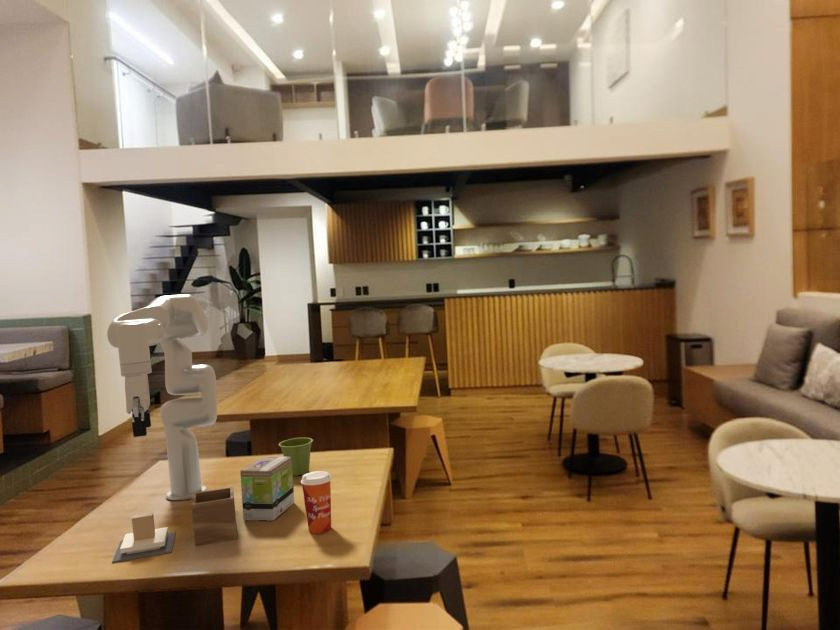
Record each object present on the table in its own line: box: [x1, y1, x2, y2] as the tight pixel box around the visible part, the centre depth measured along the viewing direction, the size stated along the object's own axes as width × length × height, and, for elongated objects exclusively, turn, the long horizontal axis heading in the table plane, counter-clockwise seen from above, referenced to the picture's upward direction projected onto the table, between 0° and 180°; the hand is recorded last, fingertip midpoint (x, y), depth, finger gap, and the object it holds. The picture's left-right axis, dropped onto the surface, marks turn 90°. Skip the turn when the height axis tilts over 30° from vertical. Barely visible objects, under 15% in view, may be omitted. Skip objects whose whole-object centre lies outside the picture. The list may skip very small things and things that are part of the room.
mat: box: [111, 531, 176, 564], centre depth 172 cm, size 14×14×1 cm
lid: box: [120, 511, 169, 554], centre depth 172 cm, size 11×11×8 cm
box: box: [191, 486, 238, 547], centre depth 177 cm, size 11×11×11 cm
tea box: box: [239, 456, 295, 522], centre depth 192 cm, size 15×10×15 cm, turn 168°
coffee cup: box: [300, 470, 332, 535], centre depth 176 cm, size 8×8×15 cm
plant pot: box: [278, 437, 314, 477], centre depth 229 cm, size 12×12×11 cm
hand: (142, 431), depth 175 cm, fingers open, 9 cm apart
